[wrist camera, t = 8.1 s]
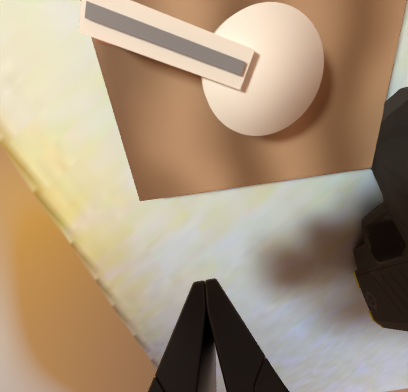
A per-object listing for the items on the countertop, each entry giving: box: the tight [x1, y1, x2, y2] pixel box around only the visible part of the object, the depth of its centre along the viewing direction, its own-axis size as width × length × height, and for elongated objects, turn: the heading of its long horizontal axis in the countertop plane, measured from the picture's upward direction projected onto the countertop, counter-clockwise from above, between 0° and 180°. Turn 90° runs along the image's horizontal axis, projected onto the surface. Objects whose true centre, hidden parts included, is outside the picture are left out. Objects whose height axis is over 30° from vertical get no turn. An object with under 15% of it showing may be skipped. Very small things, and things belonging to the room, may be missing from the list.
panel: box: [91, 0, 407, 201], centre depth 16 cm, size 17×15×2 cm
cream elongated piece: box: [79, 0, 324, 136], centre depth 13 cm, size 12×6×3 cm, turn 72°
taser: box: [353, 87, 408, 331], centre depth 20 cm, size 4×18×15 cm
